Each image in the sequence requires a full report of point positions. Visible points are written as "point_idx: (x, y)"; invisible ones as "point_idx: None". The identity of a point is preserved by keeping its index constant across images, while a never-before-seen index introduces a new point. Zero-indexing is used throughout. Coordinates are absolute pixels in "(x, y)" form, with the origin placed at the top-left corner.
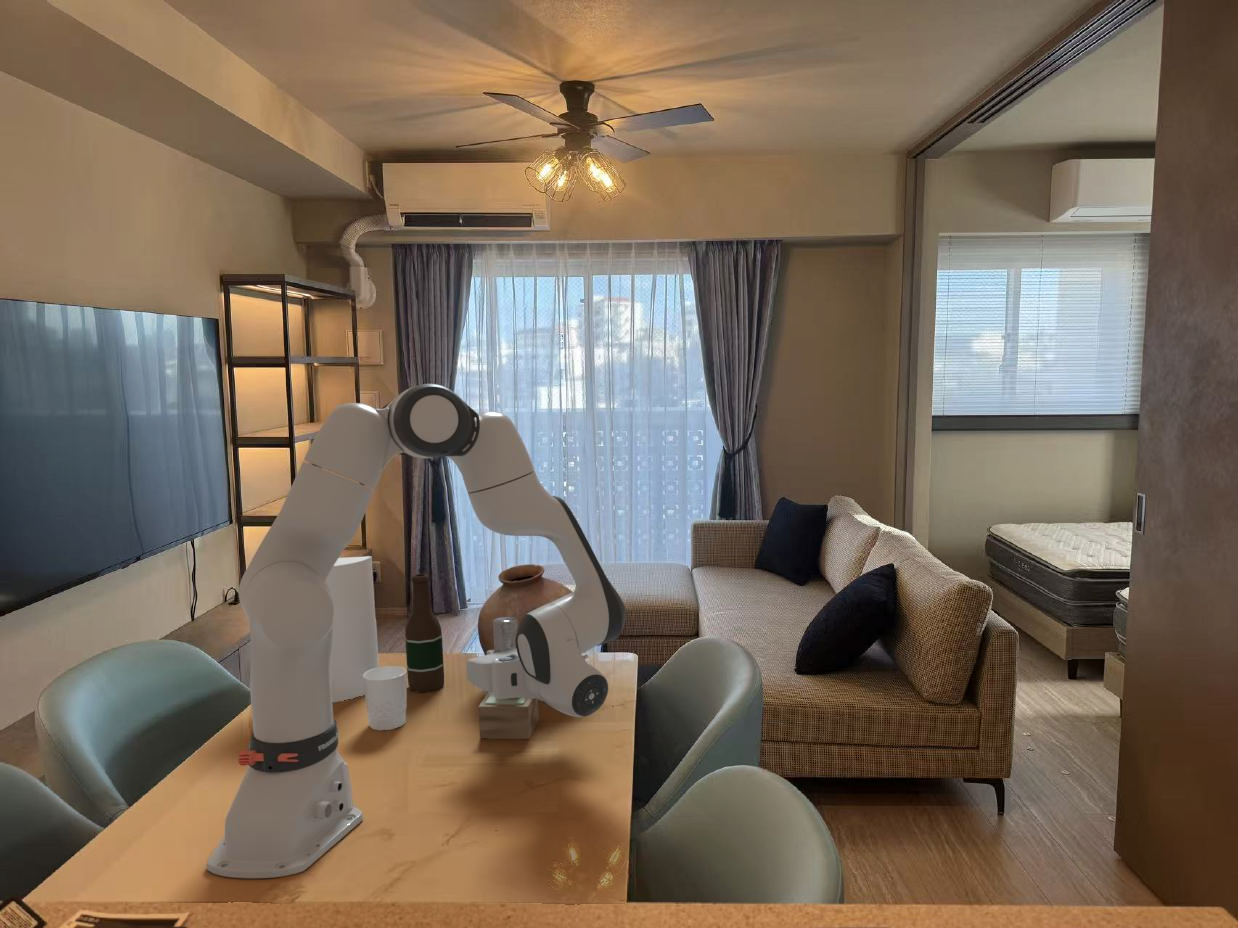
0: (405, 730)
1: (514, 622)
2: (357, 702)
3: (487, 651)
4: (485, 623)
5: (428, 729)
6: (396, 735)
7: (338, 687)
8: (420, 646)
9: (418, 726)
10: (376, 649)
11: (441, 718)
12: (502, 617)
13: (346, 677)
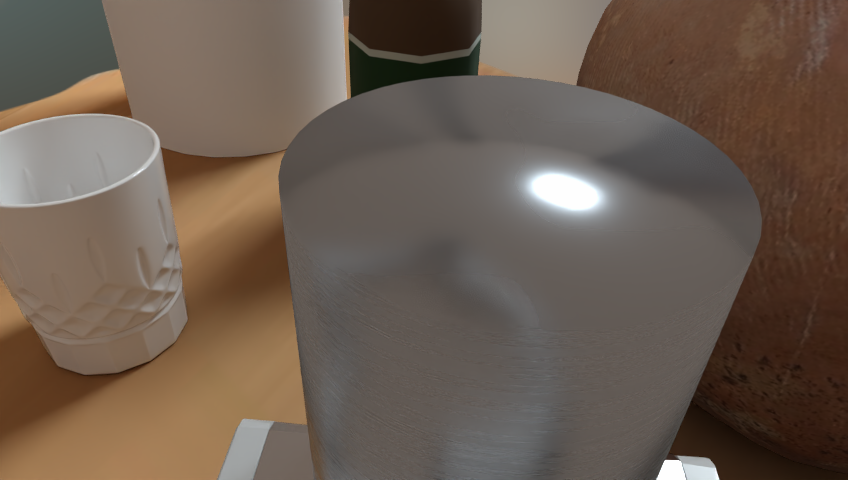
0: (99, 410)
1: (641, 335)
2: (203, 175)
3: (237, 432)
4: (600, 56)
5: (156, 462)
6: (38, 428)
7: (171, 116)
8: (373, 69)
9: (159, 410)
10: (310, 35)
11: (274, 404)
12: (547, 85)
13: (189, 95)
